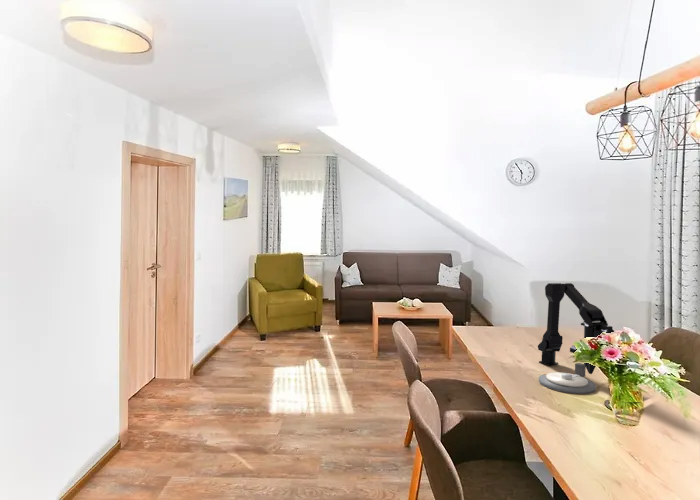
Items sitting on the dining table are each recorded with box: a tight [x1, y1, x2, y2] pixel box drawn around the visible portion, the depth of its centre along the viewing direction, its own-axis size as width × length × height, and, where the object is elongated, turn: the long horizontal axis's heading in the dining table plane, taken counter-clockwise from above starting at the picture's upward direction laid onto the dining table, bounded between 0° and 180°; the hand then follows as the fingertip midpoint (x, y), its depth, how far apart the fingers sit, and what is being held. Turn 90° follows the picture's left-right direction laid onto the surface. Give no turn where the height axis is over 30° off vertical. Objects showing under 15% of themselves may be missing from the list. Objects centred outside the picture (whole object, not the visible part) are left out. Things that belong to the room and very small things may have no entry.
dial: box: [546, 362, 589, 387], centre depth 187 cm, size 20×16×6 cm
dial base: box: [538, 372, 597, 395], centre depth 187 cm, size 22×22×2 cm
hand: (590, 373), depth 186 cm, fingers closed
